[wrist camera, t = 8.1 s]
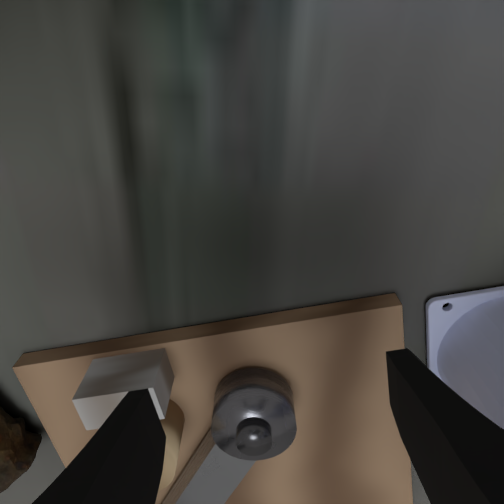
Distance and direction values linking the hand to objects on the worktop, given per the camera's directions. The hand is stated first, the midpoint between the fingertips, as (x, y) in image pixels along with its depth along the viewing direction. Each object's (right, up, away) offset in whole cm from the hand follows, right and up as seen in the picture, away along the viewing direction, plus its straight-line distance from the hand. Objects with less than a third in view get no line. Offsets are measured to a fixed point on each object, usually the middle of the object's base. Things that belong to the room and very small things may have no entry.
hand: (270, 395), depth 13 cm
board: (-1, -9, +15) cm, 17 cm away
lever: (-4, -9, +14) cm, 17 cm away
